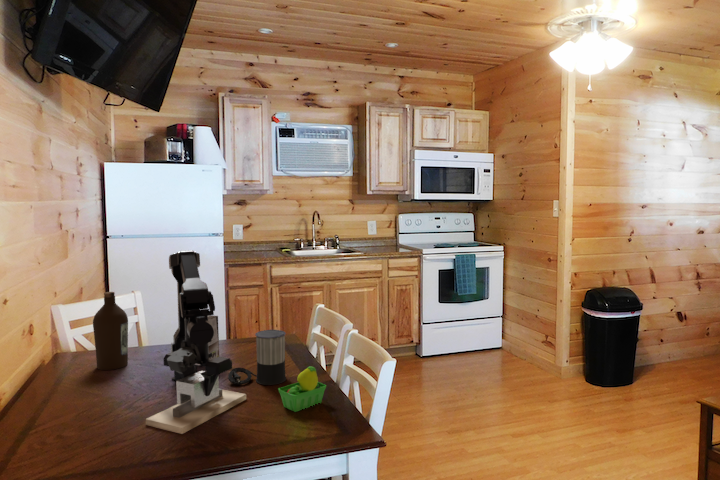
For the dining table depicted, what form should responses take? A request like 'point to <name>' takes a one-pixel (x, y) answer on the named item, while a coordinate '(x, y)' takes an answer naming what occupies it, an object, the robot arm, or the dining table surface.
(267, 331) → the milk frother
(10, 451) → the dining table surface
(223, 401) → the rail board
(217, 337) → the coffee box
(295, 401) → the fruit basket
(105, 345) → the olive oil
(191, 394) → the saddle block
